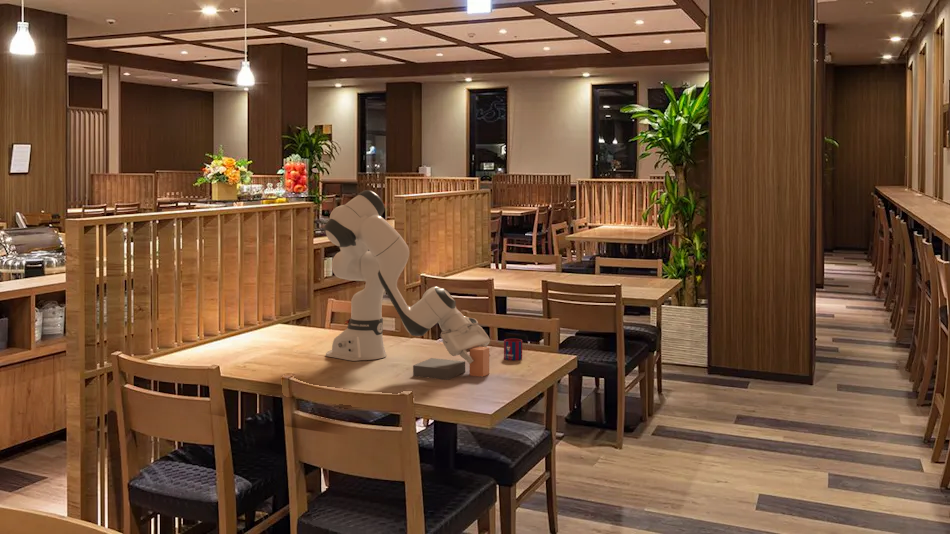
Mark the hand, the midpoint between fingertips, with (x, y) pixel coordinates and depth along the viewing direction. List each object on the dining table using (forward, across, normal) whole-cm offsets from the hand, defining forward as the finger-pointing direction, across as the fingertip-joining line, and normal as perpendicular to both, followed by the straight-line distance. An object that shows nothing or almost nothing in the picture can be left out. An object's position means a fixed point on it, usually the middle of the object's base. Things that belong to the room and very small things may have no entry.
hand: (480, 359), depth 291 cm
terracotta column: (+3, 0, +4) cm, 5 cm away
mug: (0, +30, +7) cm, 31 cm away
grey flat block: (-5, -7, +12) cm, 15 cm away
